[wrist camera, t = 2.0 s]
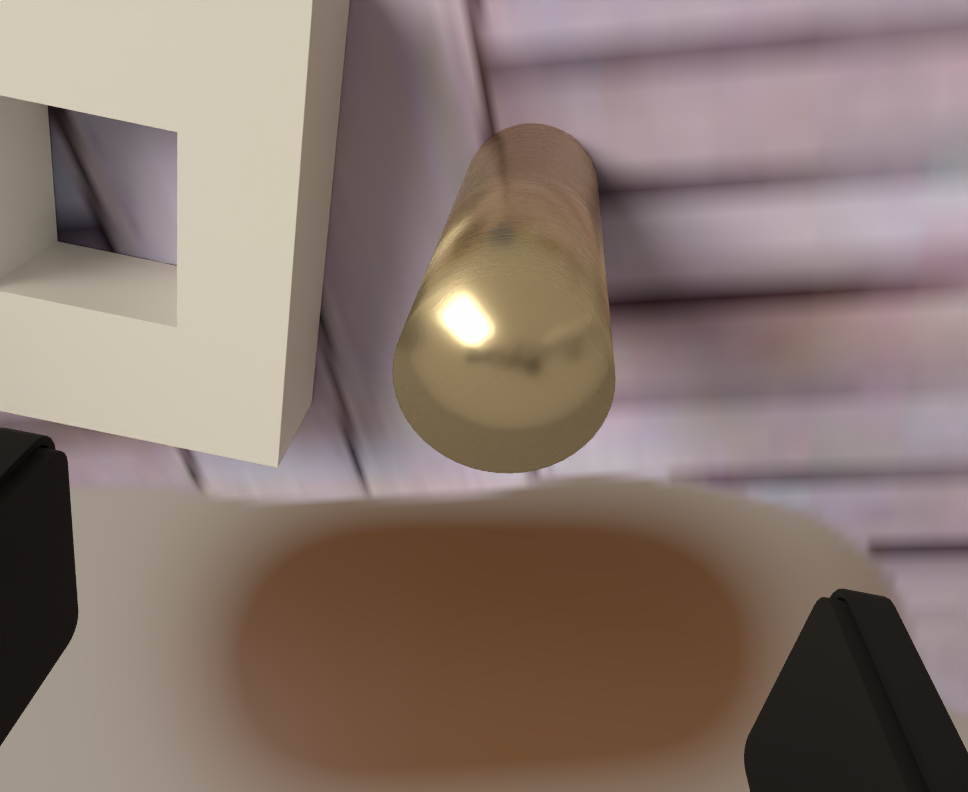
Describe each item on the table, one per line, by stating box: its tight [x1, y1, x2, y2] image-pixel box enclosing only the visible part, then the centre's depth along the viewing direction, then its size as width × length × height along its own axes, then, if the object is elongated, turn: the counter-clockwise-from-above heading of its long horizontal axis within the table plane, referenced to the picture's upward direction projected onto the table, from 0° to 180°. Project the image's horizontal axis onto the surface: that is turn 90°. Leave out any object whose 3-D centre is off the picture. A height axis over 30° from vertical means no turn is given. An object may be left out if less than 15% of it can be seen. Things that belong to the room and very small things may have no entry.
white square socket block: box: [0, 0, 350, 468], centre depth 25 cm, size 12×14×4 cm
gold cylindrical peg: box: [393, 124, 615, 473], centre depth 21 cm, size 4×4×12 cm
